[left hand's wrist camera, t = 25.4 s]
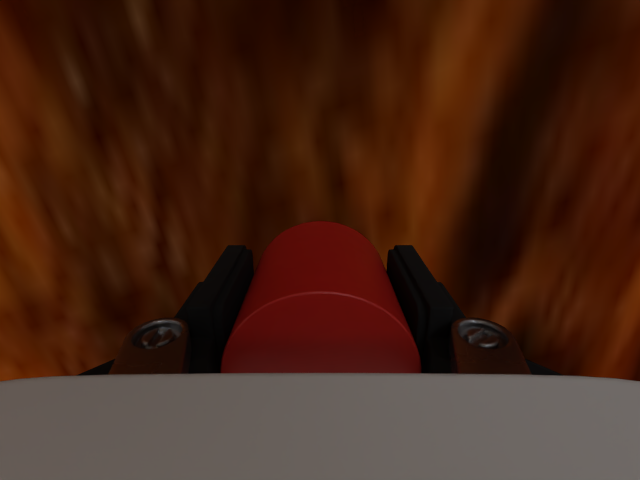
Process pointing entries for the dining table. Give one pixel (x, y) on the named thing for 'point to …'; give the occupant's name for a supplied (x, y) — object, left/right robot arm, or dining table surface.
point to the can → (320, 309)
